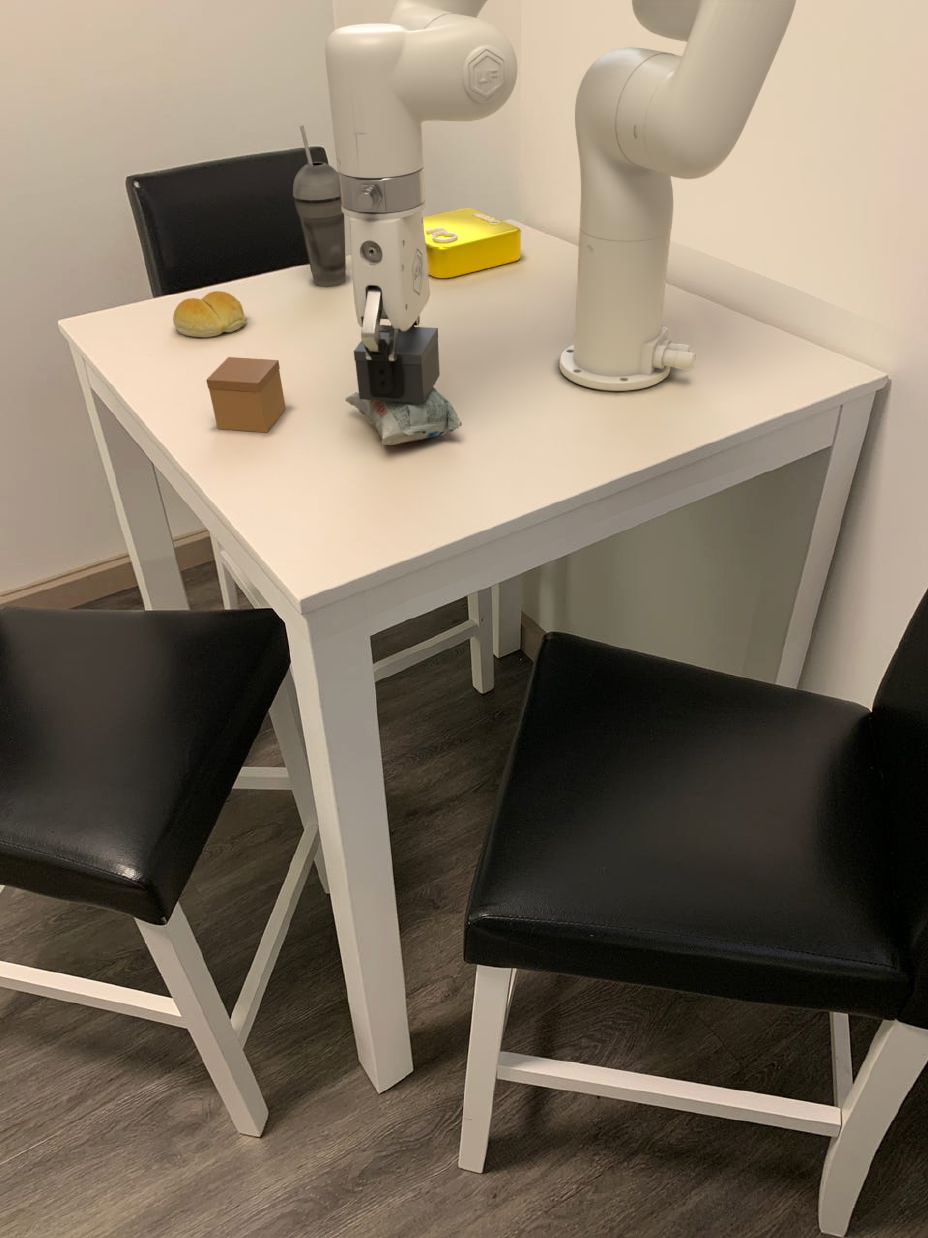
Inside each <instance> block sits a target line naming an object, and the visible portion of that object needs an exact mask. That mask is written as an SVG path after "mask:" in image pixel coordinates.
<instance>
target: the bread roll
mask: <svg viewBox="0 0 928 1238" xmlns="http://www.w3.org/2000/svg"><path fill="white" fill-rule="evenodd" d="M242 305H243V304H242V303H241V301H240V300H238V299H237V298H236V296H234V295H233V294H231V293H229V292H226V291H221V290H220V291H219V290H217V291H210V292H209V293H206V294H205V295H204V296H203V297H202V298H197V297H191V298H190V297H189V298H186V299H183V300H182V301H181V302H179V303H178V304H177V305H176V307H175V310H174V311H173V317H172V322H173V325H174V328H175V329H176V331H178V332H179V333H180V334H182V335H184V336H187V337H188V336H189V337H193V338H194V337H195V338H213V337H218V336H220V335H221V334H222V333H233V332H235V331H237V330H240V329H241V328H242V327H243V326H244V325H245V324H246V322H247V319H248V318H247V316H246V315H245V313H244V308H243V306H242Z"/></svg>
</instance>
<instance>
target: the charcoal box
mask: <svg viewBox="0 0 928 1238" xmlns="http://www.w3.org/2000/svg"><path fill="white" fill-rule="evenodd" d="M379 333H380V335H381V337H380V338H381V339H385V341H386V342H387V344H388V346H389V333H383V332H379ZM355 347H356V348H355V349H354V350H353V358H354V362H355V370H356V380H357V381H356V382H357V388H358V393H359V399H364V400H378V401H393V402H407V403H421V404H424V403H425V401H426V399H427V397H428V395H429V394H430V392H431V390H432V388H433V387H434V386H435V385H436V382H437V381H438V379H439V377H440V374H441V373H440V354H439V328H438V327H428V326H427V327H425V326H414V327H410V328H409V329H408V330H407V331H401V330H400V329H398V346H397V357H399V358H401V366H402V380H403V396H402V398H400V399H394V398H380V397H373V396H371V394H370V384H369V374H368V364H367V359H366V349H365V348H364V347H365V346H364V343H363V341H362V340H361V341H360V342H359V343H358V345H357V346H355Z"/></svg>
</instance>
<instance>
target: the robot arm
mask: <svg viewBox="0 0 928 1238" xmlns="http://www.w3.org/2000/svg"><path fill="white" fill-rule="evenodd" d="M487 2H488V0H396V3H395V4H394V6H393V8H392V10H391V13H390V16H389V19H388V22H387V23H385V22H384V23H383V22H382V23H381V22H379V23H378V22H377V23H375V22H373V23H372V22H371V23H359V24H350V25H345V26H342V27H341V26H340V27H339V28H336V29H335V30H333V31H331V33H330V34H328V36H327V38H326V41H325V47H324V49H325V50H324V52H325V53H324V55H325V66H326V68H325V69H326V75H327V85H328V95H329V105H330V112H331V113H330V114H331V122H332V123H331V124H332V131H333V140H334V149H335V150H334V151H335V158H336V159H335V161H336V169H337V170H336V171H337V172H338V180H339V190H340V199H341V209H342V212H343V213H344V216H347V217H349V229H350V232H349V233H350V235H349V236H350V262H351V276H352V289H353V291H352V292H353V300H354V301H353V302H354V308H355V309H354V310H355V314H356V320H357V324H358V325H359V327H360V328H361V331H360V332H361V333H360V339H361V341H363V343H364V346H365V347H364V348H365V349H366V359H367V364H368V374H369V384H370V394H371V396H373V397H380V398H394V399H400V398H402V396H403V380H402V366H401V358H399V357H397V346H398V329H400V330H401V331H407V330H408V329H409V328H410V327H420V323H421V316H420V315H421V313H422V312H423V310H424V309H425V307H426V305H427V303H428V302H429V300H430V296H431V286H430V275H429V272H428V262H427V251H426V241H425V232H424V224H423V217H424V216H423V212H422V211H424V210H425V208H426V206H427V204H426V188H425V187H426V185H425V168H424V149H423V148H424V145H423V127H422V124H423V123H424V122H426V121H427V122H428V121H431V122H434V121H436V122H437V121H438V122H441V121H442V122H474V121H480V120H483V119H486V118H488V117H490V116H491V115H493V114H495V113H497V112H498V111H499V110H500V109H502V107H504V105H505V104H506V103H507V102H508V101H509V99H510V97H511V96H512V93H513V92H514V89H515V87H516V83H517V78H518V60H517V55H516V51H515V49H514V46H513V44H512V43H511V41H510V39H509V38H508V36H506V34H505V33H504V32H503V31H502V30H501V29H500V28H499V27H497V26H496V25H494V24H493V23H491V22H489V21H487V20H485V19H482V18H480V17H479V18H478V16H479V14H480V12H481V11H482V9H483V8H484V6H485V5H486V3H487ZM796 2H797V0H631V6H632V11H633V14H634V16H635V18H636V20H637V21H638V23H639V24H640V25H641V26H642V27H643V28H644V29H645V30H647V31H648V32H650V33H651V34H654V35H658V36H659V37H662V38H666V39H670V40H674V41H678V42H679V41H680V42H685V43H686V45H685V47H684V50H683V53H682V55H679V54H674V53H671V52H666V51H661V50H655V49H650V48H645V47H633V46H631V47H622V48H617V49H614V50H613V49H612V50H611V51H608V52H606V53H604V54H603V55H601V56H600V57H599V58H597V59H596V60H595V61H594V62H593V63H592V64H591V65H590V66H589V67H588V69H587V70H586V72H585V73H584V75H583V77H582V79H581V82H580V83H579V86H578V90H577V93H576V97H575V103H574V105H575V106H574V125H575V126H574V127H575V136H576V144H577V151H578V159H579V160H578V161H579V171H580V207H579V209H580V210H579V227H578V228H579V229H578V231H579V232H578V233H579V234H578V253H577V273H576V274H577V275H576V295H575V296H576V297H575V315H574V316H575V317H574V339H573V344H572V345H570V346H568V347H567V348H565V349H564V350H563V351H562V352H561V353H560V356H559V370H560V372H561V373H562V375H563V376H564V377H565V378H566V379H568V380H569V381H571V382H573V383H574V384H577V385H580V386H582V387H586V388H590V389H595V390H601V391H611V392H621V391H636V390H640V389H645V388H648V387H652V386H654V385H657V384H658V383H661V382H662V381H664V380H665V379H666V378H667V377H668V376H669V374H670V372H671V367H672V368H674V369H677V370H684V371H689V372H693V370H694V367H695V364H696V359H697V358H696V357H697V354H696V352H691V350H692V345H691V344H684V343H675V342H672V341H671V340H672V339H668V333H669V328H668V327H666V326H662V322H663V321H662V320H663V311H664V303H665V292H666V291H665V290H666V282H667V272H668V263H669V255H670V254H669V253H670V245H671V237H672V236H671V235H672V228H673V219H674V191H673V183H672V178H678V179H682V180H697V179H700V178H703V177H706V176H707V175H710V174H711V173H713V172H714V171H715V170H717V169H718V168H719V167H721V165H722V164H723V163H724V162H725V161H726V160H727V158H728V157H729V155H730V154H731V152H732V151H733V149H734V148H735V146H736V145H737V143H738V141H739V139H740V137H741V135H742V133H743V131H744V129H745V127H746V124H747V122H748V120H749V117H750V115H751V113H752V111H753V108H754V105H755V104H756V101H757V99H758V97H759V94H760V92H761V90H762V87H763V85H764V83H765V81H766V78H767V76H768V74H769V71H770V70H771V67H772V64H773V62H774V60H775V58H776V55H777V53H778V51H779V48H780V46H781V44H782V41H783V39H784V37H785V35H786V32H787V29H788V27H789V25H790V21H791V20H792V17H793V13H794V10H795V6H796ZM381 320H388V321H389V323H390V325H389V324H387V325H386V324H381ZM379 332H383V333H389V346H388V344H387V342H386V341H385V339H381V338H380V337H381V335H380V333H379Z"/></svg>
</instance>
